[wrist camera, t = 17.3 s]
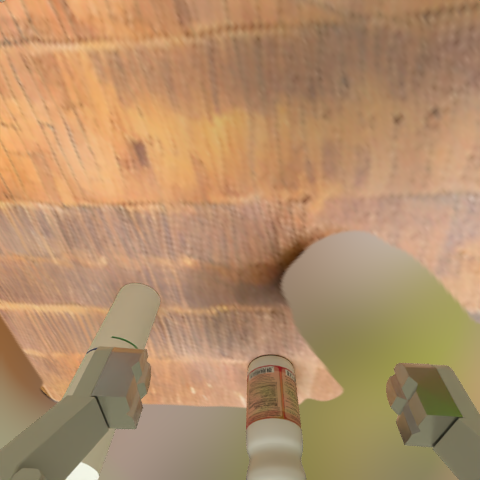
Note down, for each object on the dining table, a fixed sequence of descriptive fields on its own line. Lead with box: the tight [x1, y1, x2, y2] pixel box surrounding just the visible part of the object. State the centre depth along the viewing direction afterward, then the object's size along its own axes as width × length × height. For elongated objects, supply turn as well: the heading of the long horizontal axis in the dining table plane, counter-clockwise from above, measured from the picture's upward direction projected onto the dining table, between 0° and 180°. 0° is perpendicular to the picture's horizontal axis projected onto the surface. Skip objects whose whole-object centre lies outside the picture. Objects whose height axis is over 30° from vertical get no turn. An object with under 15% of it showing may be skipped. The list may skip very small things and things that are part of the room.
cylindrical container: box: [62, 283, 160, 480], centre depth 42 cm, size 7×7×25 cm
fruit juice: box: [246, 355, 306, 480], centre depth 50 cm, size 9×9×28 cm
